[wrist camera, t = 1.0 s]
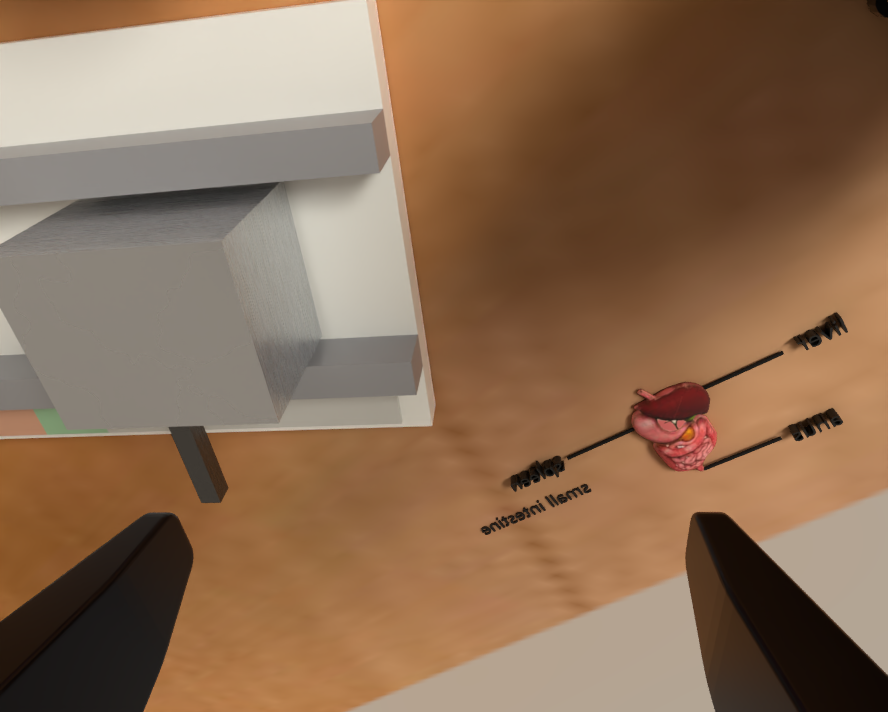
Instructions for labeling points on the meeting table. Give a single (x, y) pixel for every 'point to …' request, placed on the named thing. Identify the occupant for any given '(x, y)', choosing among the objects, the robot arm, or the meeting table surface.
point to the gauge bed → (233, 181)
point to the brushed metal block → (165, 313)
